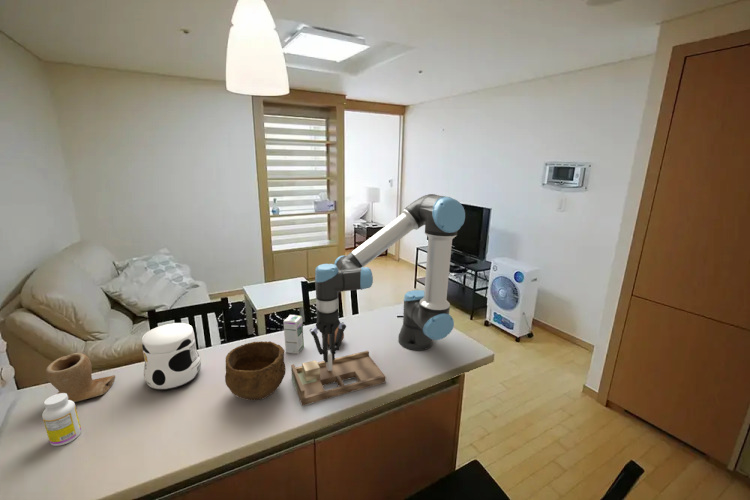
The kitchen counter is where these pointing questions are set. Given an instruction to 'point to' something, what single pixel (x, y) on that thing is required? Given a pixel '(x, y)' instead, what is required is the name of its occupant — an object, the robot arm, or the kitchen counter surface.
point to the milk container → (170, 356)
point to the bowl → (255, 370)
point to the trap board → (338, 377)
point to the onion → (335, 336)
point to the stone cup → (76, 378)
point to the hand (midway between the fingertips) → (329, 368)
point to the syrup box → (293, 334)
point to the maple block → (311, 370)
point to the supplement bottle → (61, 419)
